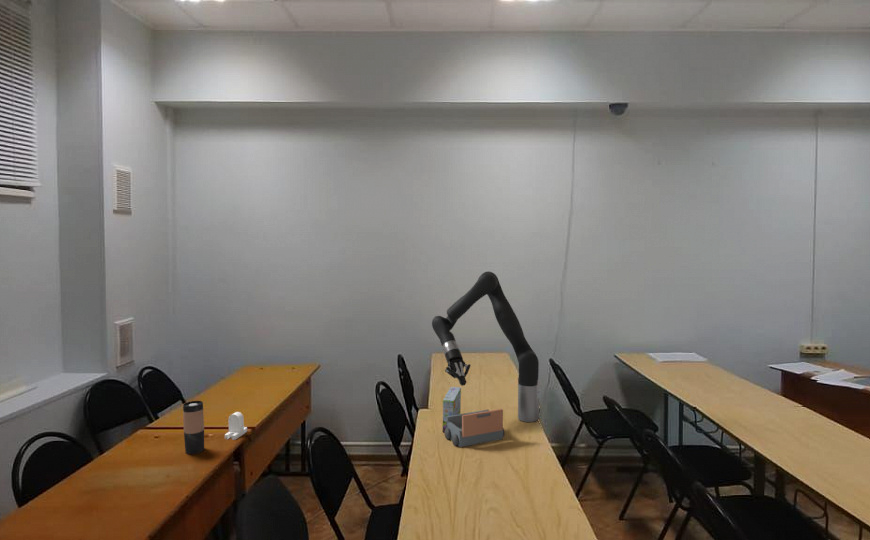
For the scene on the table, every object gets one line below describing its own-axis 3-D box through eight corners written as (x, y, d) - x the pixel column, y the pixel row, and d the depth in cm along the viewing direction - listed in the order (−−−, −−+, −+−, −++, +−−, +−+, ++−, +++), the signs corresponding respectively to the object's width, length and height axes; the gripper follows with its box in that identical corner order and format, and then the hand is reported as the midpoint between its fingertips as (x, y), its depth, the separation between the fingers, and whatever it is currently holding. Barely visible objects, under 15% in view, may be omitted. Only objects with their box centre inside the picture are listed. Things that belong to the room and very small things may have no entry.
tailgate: (501, 429, 223) (501, 408, 222) (503, 430, 221) (503, 410, 221) (462, 436, 215) (462, 415, 215) (464, 437, 214) (464, 416, 213)
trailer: (490, 428, 236) (490, 409, 236) (505, 438, 225) (505, 418, 224) (444, 436, 227) (443, 416, 227) (456, 447, 215) (456, 426, 215)
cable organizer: (247, 431, 235) (247, 409, 235) (235, 439, 226) (234, 417, 225) (237, 430, 236) (236, 409, 236) (224, 439, 227) (223, 416, 226)
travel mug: (209, 448, 217) (207, 401, 215) (195, 455, 210) (193, 407, 208) (194, 445, 219) (192, 399, 218) (180, 453, 212) (178, 405, 211)
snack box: (454, 433, 231) (454, 400, 230) (442, 432, 232) (441, 399, 231) (461, 417, 252) (461, 386, 251) (450, 416, 253) (449, 386, 252)
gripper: (441, 349, 239) (453, 382, 228) (467, 346, 244) (479, 378, 234) (437, 358, 244) (448, 390, 234) (462, 355, 249) (474, 387, 239)
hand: (463, 384), depth 234 cm, fingers closed
